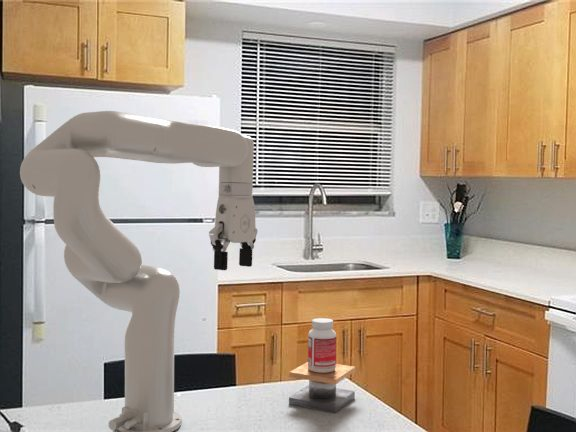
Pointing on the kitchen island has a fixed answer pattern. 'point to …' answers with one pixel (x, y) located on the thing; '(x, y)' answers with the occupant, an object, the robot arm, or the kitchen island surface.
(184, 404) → the kitchen island surface
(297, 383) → the kitchen island surface
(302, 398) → the stand
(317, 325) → the pill bottle
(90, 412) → the kitchen island surface
